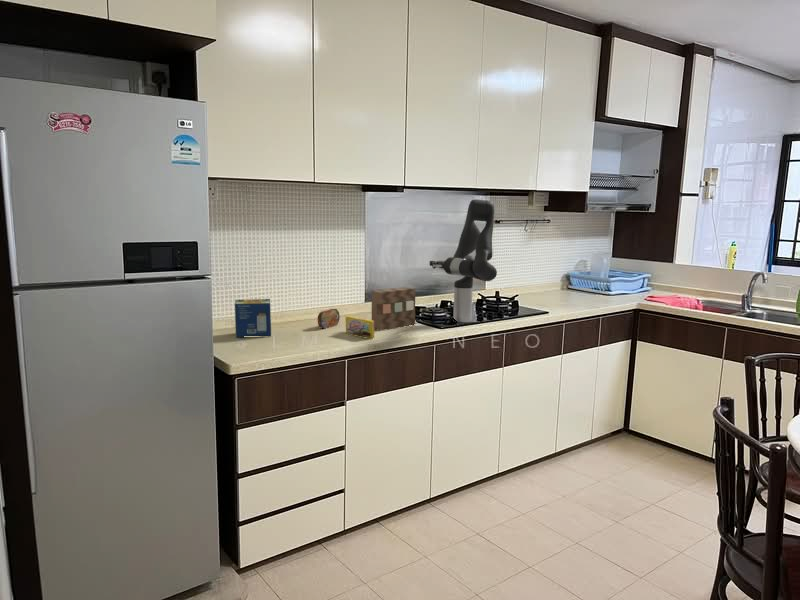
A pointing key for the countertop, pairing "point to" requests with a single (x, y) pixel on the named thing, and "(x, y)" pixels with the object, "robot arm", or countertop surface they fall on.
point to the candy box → (360, 327)
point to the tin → (328, 318)
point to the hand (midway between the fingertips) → (430, 263)
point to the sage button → (397, 306)
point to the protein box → (253, 317)
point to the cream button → (409, 305)
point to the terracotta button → (386, 308)
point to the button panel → (392, 308)
